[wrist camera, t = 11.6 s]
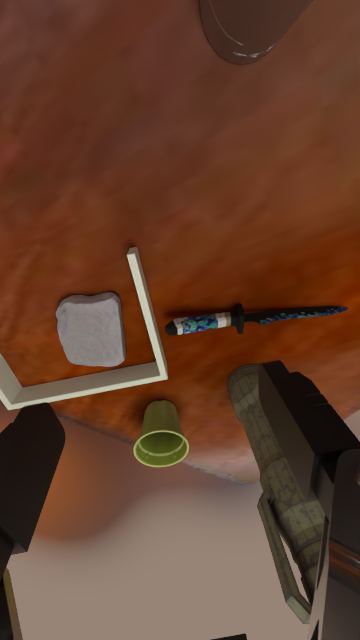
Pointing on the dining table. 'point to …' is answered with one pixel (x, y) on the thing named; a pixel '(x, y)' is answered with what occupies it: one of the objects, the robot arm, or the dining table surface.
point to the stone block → (92, 329)
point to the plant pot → (161, 436)
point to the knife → (243, 318)
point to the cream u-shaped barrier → (15, 396)
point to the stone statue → (280, 497)
